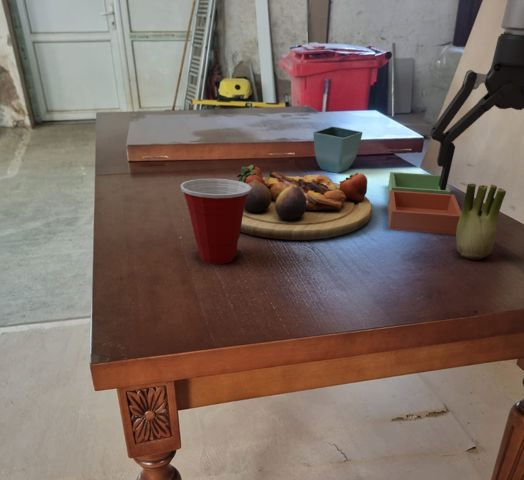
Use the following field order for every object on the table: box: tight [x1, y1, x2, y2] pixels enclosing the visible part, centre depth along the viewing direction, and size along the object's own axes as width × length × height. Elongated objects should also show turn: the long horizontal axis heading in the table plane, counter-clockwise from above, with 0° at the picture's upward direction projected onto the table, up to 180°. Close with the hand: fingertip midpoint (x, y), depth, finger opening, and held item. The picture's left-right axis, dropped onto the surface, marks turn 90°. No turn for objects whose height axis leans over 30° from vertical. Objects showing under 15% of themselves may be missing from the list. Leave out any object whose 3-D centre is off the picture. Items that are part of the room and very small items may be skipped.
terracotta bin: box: [386, 190, 462, 236], centre depth 101 cm, size 13×13×4 cm
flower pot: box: [312, 126, 363, 174], centre depth 127 cm, size 9×9×9 cm
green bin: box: [387, 171, 451, 195], centre depth 112 cm, size 12×12×4 cm
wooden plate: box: [236, 163, 374, 241], centre depth 102 cm, size 32×32×8 cm
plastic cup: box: [179, 178, 252, 265], centre depth 83 cm, size 11×11×12 cm
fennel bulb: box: [455, 183, 507, 261], centre depth 85 cm, size 6×5×12 cm
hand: (486, 191), depth 82 cm, fingers open, 13 cm apart
